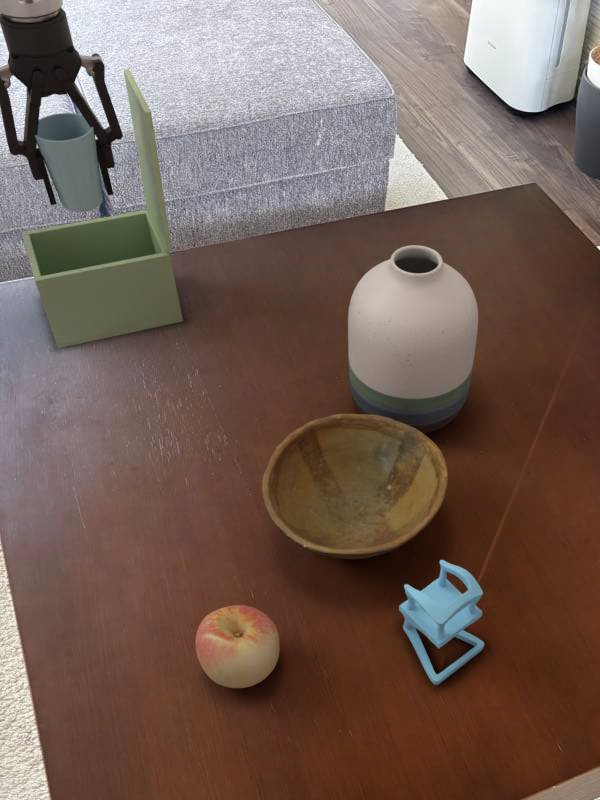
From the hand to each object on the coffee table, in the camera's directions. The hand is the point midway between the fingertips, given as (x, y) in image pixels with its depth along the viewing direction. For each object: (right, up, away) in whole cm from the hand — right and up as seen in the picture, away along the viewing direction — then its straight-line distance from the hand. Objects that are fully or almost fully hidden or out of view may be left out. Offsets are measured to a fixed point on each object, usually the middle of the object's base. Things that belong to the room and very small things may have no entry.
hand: (80, 194), depth 118 cm
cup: (0, -1, +1) cm, 1 cm away
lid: (+9, +5, +1) cm, 10 cm away
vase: (+45, -28, +5) cm, 54 cm away
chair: (+48, -60, -19) cm, 79 cm away
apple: (+27, -62, -22) cm, 71 cm away
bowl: (+38, -46, -9) cm, 61 cm away
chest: (-1, -12, +16) cm, 20 cm away
